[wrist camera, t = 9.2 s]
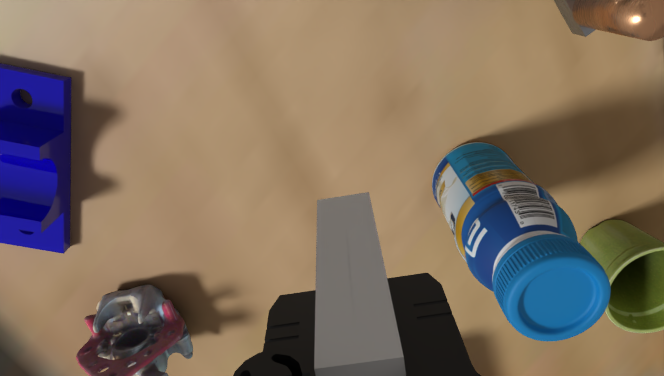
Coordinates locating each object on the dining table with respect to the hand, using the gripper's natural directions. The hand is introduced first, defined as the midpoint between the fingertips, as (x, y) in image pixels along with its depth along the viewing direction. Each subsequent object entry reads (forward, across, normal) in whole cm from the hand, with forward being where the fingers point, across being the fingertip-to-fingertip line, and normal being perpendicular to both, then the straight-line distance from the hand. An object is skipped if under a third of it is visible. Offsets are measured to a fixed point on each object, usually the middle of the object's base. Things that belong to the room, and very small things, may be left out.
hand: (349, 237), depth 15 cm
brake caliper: (+33, -25, -25) cm, 48 cm away
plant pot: (+33, +26, -24) cm, 48 cm away
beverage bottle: (+33, +12, -14) cm, 37 cm away
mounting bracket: (+33, -30, -5) cm, 45 cm away
